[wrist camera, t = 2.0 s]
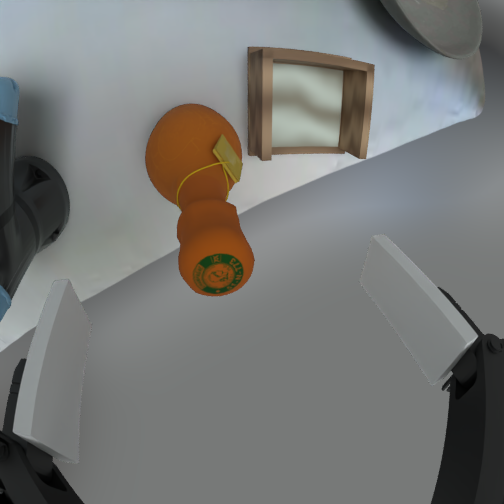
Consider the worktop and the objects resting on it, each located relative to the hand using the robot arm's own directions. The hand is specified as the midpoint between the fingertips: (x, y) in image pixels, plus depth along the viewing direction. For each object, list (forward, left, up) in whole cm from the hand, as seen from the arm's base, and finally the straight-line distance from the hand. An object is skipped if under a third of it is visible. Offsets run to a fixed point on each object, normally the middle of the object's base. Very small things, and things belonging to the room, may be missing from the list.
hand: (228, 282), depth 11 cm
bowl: (+35, +30, -31) cm, 55 cm away
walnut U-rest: (+16, +5, -30) cm, 34 cm away
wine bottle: (0, 0, -31) cm, 31 cm away
